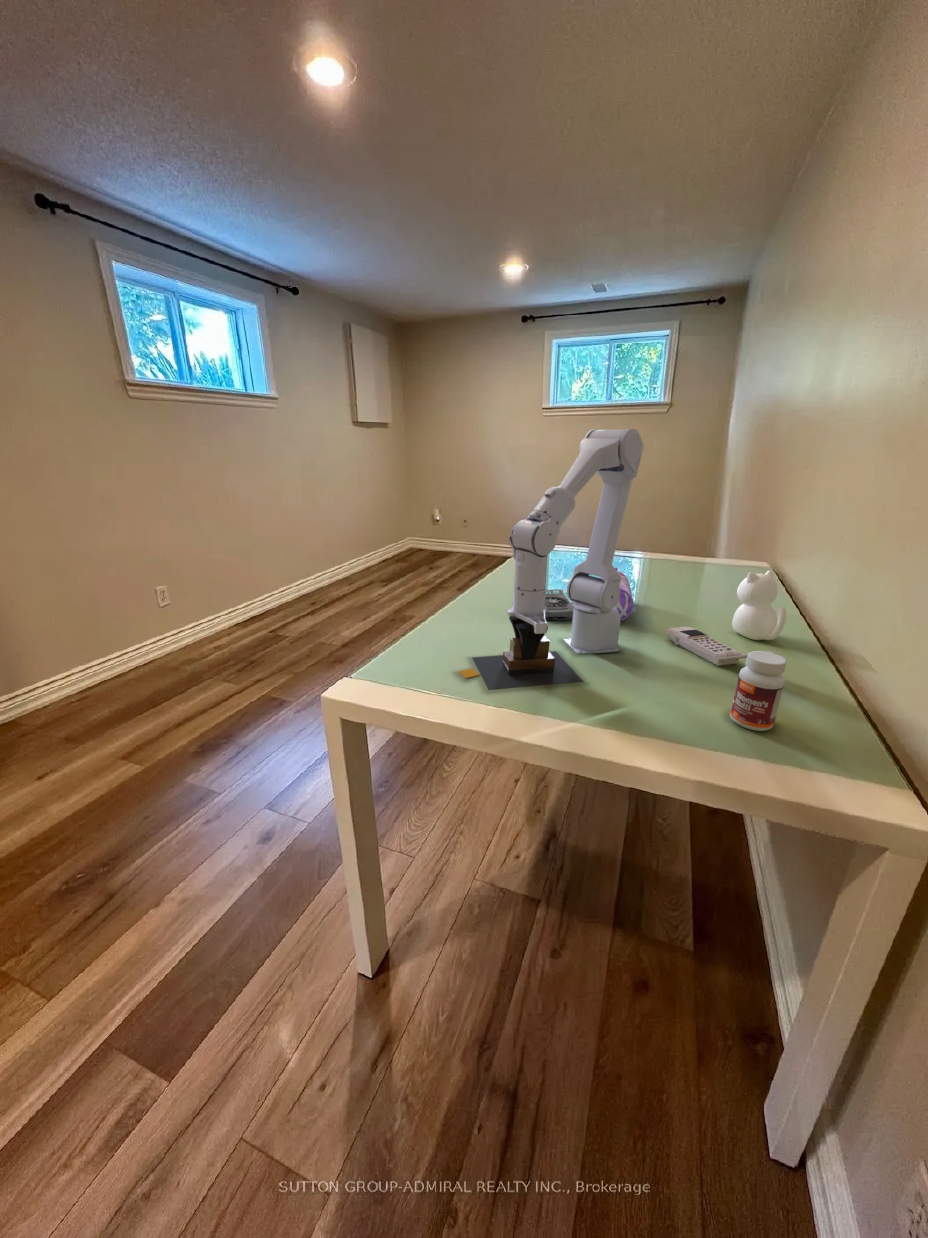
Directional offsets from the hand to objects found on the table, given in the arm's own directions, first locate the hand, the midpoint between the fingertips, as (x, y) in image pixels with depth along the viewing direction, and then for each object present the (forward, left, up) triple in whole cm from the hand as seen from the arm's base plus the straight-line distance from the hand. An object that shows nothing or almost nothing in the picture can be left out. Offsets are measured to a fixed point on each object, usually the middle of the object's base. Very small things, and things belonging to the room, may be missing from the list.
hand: (526, 655), depth 94 cm
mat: (0, 0, -3) cm, 3 cm away
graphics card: (-17, -33, -3) cm, 37 cm away
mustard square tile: (+11, 0, -3) cm, 12 cm away
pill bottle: (-30, +24, -3) cm, 39 cm away
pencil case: (-34, -31, -3) cm, 46 cm away
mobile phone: (-40, 0, -3) cm, 40 cm away
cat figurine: (-58, -8, -3) cm, 59 cm away
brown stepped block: (0, 0, -3) cm, 3 cm away
